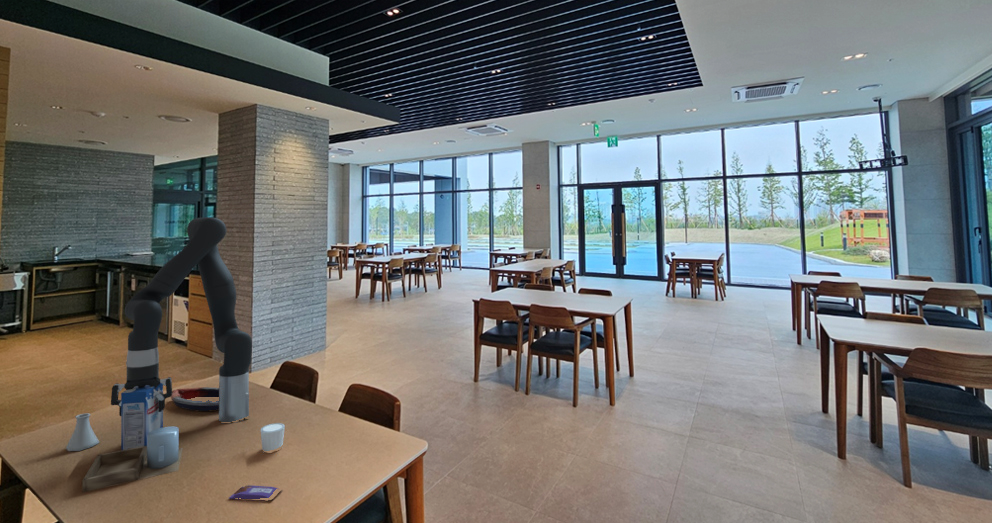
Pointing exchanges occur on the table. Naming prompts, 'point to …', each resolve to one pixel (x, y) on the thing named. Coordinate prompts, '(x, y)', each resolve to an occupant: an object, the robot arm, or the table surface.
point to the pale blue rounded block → (162, 447)
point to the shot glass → (272, 436)
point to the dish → (188, 393)
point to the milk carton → (139, 416)
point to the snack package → (253, 492)
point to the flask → (82, 434)
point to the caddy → (122, 468)
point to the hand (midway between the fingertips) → (142, 414)
